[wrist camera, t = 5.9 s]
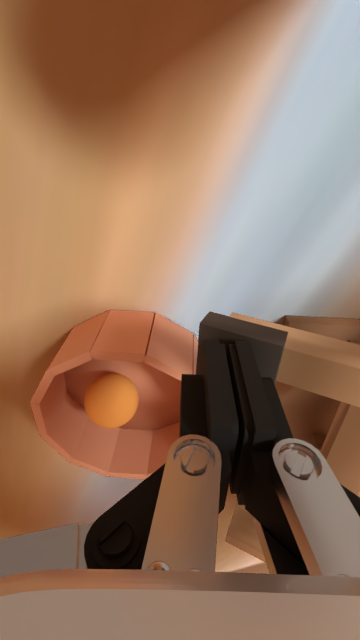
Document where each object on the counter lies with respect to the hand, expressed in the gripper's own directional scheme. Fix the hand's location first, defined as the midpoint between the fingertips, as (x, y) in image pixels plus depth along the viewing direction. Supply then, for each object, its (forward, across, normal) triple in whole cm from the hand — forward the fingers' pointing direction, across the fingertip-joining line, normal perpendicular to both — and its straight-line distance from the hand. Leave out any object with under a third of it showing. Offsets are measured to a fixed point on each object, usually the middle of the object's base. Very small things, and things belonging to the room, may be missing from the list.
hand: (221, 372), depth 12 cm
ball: (+8, +6, +10) cm, 14 cm away
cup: (+11, +5, +10) cm, 15 cm away
